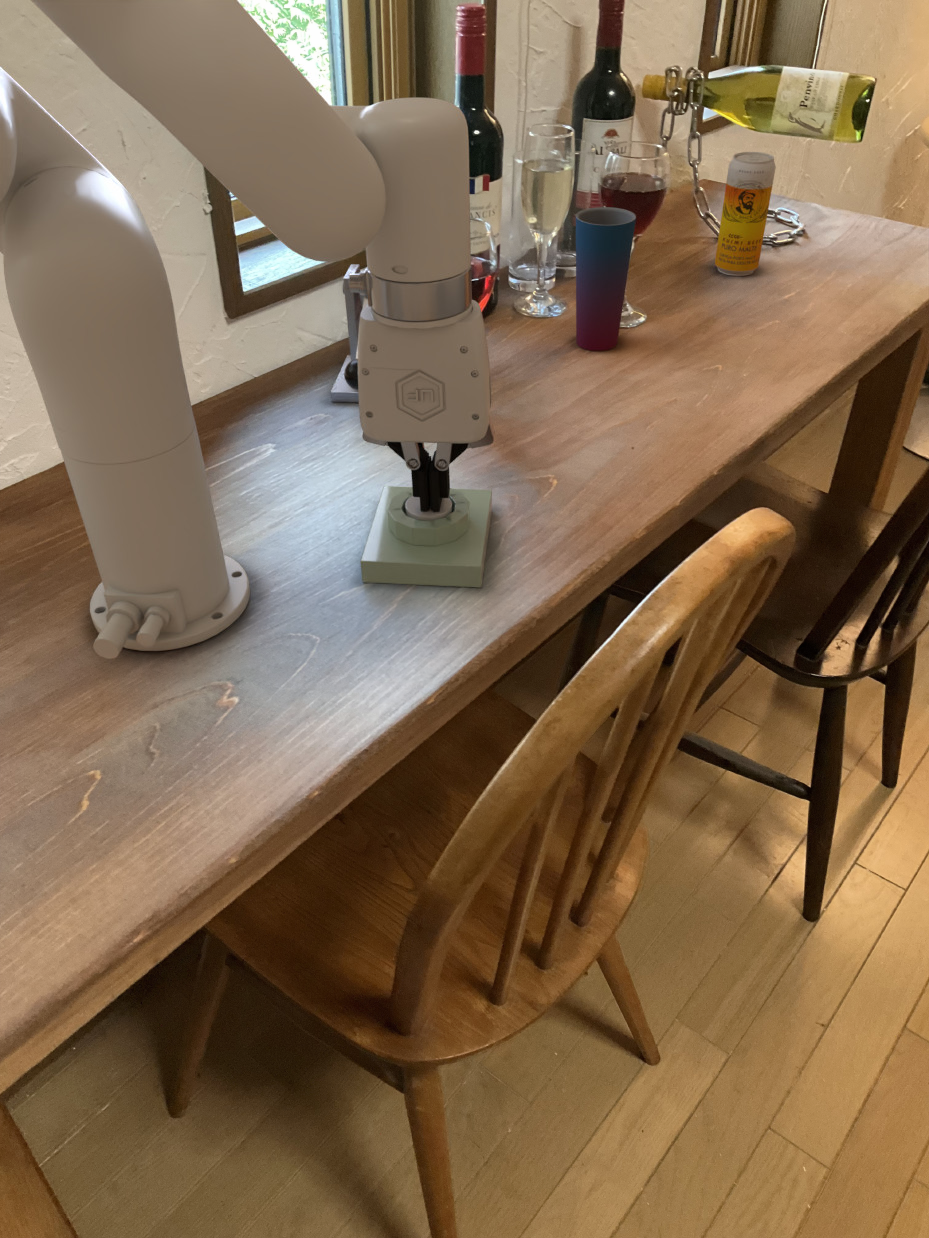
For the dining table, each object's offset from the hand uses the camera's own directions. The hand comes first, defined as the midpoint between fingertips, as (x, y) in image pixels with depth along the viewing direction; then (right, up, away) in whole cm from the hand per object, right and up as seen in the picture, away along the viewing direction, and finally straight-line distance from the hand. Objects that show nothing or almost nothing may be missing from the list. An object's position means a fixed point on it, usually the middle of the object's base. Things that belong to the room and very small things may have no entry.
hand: (432, 502), depth 82 cm
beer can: (+42, +40, +55) cm, 80 cm away
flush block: (0, -3, +3) cm, 4 cm away
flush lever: (-8, +20, +21) cm, 30 cm away
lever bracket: (-7, +17, +28) cm, 34 cm away
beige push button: (0, -1, +1) cm, 2 cm away
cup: (+19, +24, +36) cm, 47 cm away
